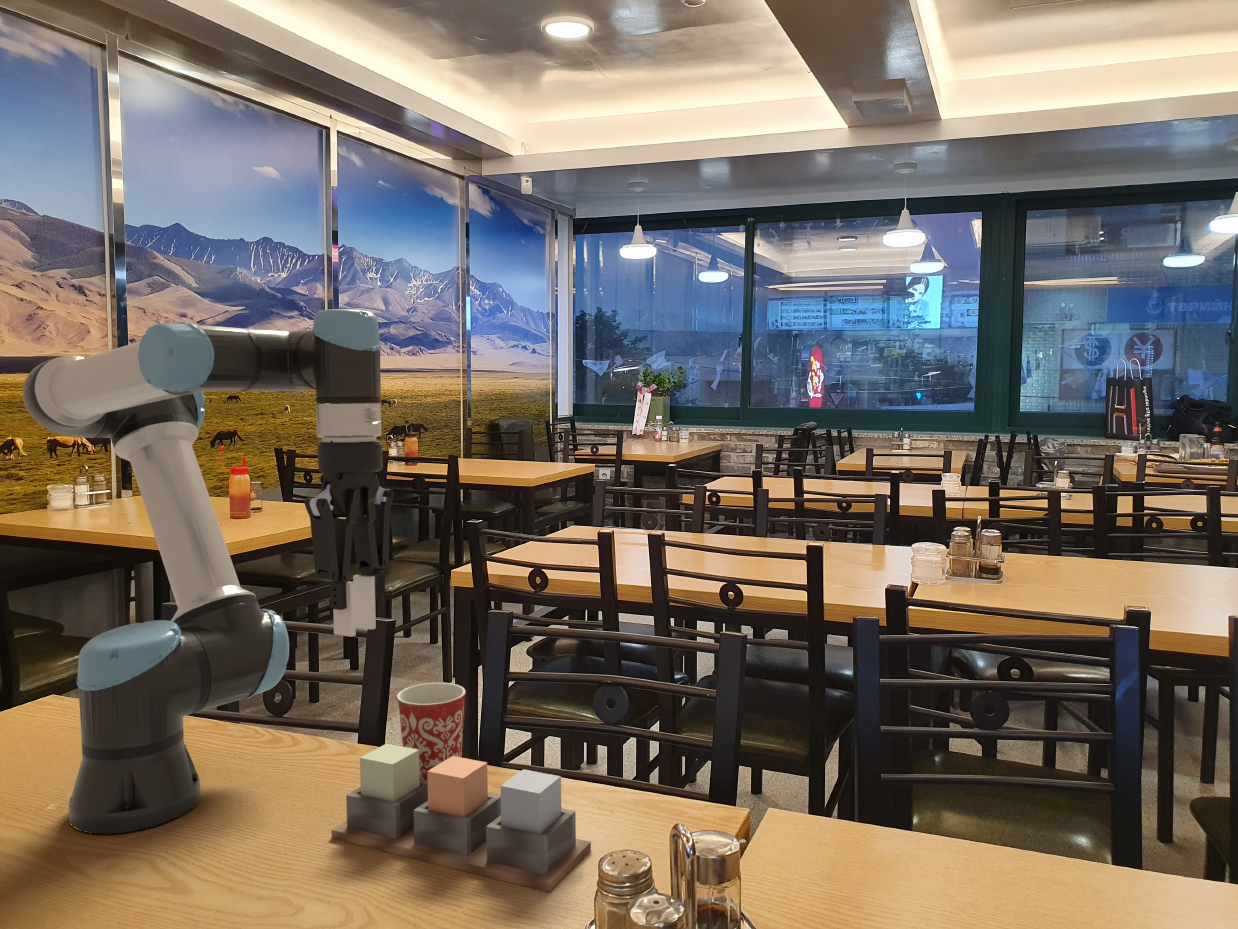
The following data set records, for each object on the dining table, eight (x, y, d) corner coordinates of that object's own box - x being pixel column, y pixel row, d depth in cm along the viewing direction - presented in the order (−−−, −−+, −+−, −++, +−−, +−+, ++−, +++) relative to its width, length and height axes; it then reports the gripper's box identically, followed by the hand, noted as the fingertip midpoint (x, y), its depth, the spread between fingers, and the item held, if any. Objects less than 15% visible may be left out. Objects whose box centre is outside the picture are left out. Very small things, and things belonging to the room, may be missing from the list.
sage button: (361, 805, 111) (359, 757, 110) (387, 789, 115) (386, 743, 115) (394, 813, 108) (392, 764, 108) (419, 796, 113) (418, 749, 113)
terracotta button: (428, 821, 106) (427, 771, 106) (453, 803, 111) (452, 756, 110) (464, 829, 104) (463, 778, 104) (488, 811, 109) (487, 762, 108)
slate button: (501, 837, 102) (500, 785, 102) (524, 819, 107) (523, 769, 106) (540, 846, 100) (539, 793, 100) (561, 827, 105) (560, 776, 104)
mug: (444, 809, 117) (442, 707, 116) (385, 798, 120) (383, 699, 119) (492, 772, 129) (490, 678, 128) (437, 763, 132) (435, 672, 131)
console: (331, 837, 110) (330, 797, 109) (385, 804, 119) (384, 767, 118) (549, 892, 97) (548, 847, 97) (590, 850, 106) (590, 808, 106)
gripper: (326, 442, 101) (332, 651, 102) (416, 437, 115) (420, 619, 117) (276, 442, 104) (282, 644, 105) (369, 436, 118) (374, 614, 120)
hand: (355, 630), depth 111 cm, fingers open, 3 cm apart
